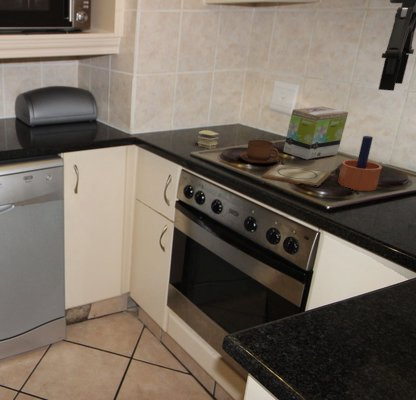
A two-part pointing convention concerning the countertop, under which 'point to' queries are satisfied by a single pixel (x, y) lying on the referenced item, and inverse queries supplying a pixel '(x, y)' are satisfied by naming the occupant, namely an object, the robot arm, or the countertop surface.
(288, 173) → the tan flat square slab
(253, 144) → the cup and saucer
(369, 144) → the marker
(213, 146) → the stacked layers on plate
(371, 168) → the pen cup
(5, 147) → the countertop surface
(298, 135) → the tea box
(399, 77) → the robot arm
